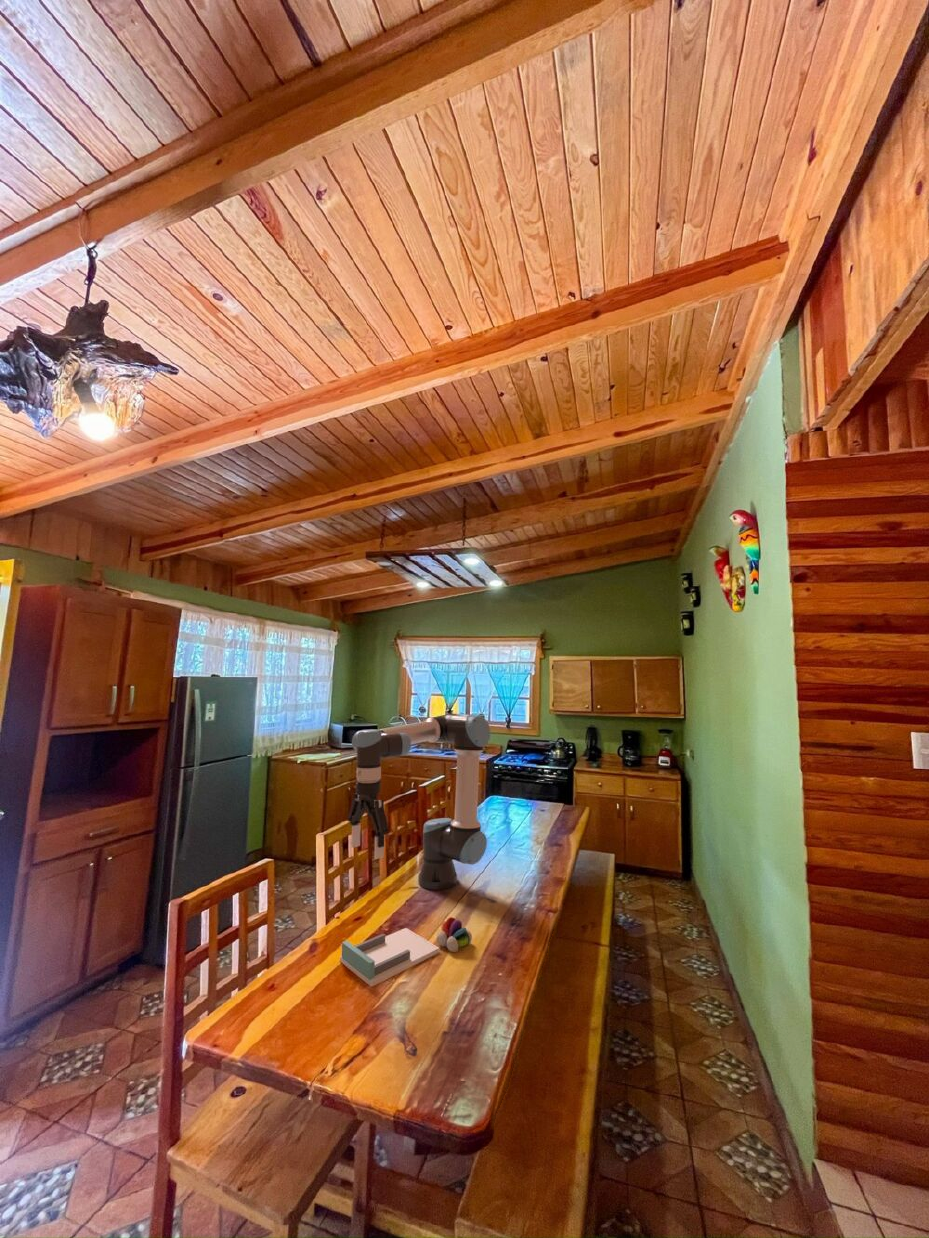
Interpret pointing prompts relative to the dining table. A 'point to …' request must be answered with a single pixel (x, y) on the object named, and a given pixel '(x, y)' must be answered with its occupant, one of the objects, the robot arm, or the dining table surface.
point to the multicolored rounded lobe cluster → (453, 935)
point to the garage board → (386, 955)
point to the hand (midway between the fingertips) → (366, 852)
